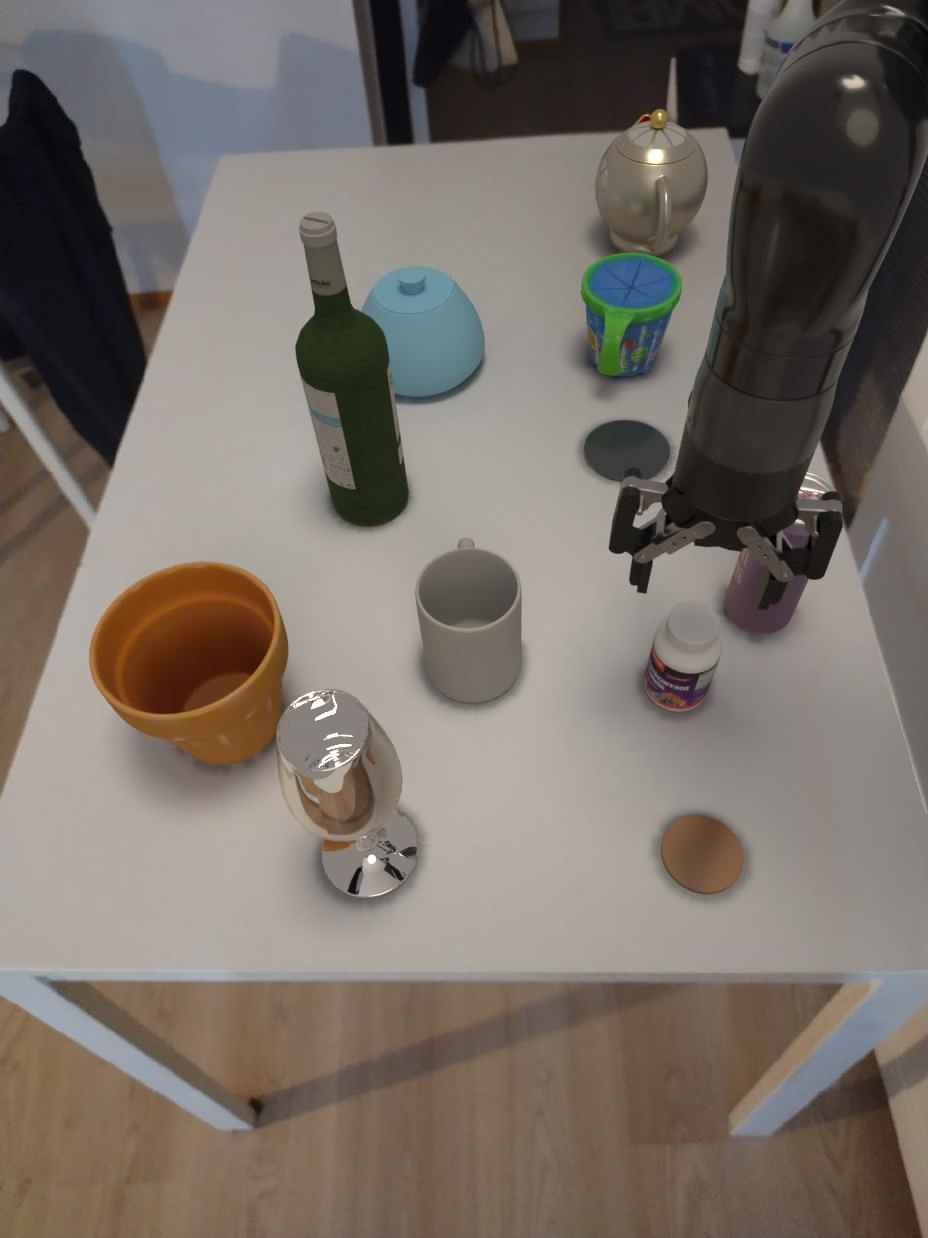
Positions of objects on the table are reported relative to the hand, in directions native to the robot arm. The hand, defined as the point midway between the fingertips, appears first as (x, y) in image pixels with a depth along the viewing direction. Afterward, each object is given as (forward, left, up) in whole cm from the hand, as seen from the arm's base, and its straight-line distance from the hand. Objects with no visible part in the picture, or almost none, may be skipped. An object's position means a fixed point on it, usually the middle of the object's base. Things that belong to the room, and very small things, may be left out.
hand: (701, 592), depth 63 cm
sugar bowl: (+32, -39, -14) cm, 52 cm away
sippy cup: (+9, -43, -14) cm, 46 cm away
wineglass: (+22, +19, -14) cm, 32 cm away
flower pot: (+37, +10, -14) cm, 41 cm away
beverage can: (-7, -10, -14) cm, 18 cm away
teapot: (+8, -66, -14) cm, 68 cm away
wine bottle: (+32, -17, -14) cm, 39 cm away
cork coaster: (-3, +14, -14) cm, 20 cm away
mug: (+18, -1, -14) cm, 23 cm away
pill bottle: (0, 0, -14) cm, 14 cm away
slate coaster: (+7, -28, -14) cm, 32 cm away
